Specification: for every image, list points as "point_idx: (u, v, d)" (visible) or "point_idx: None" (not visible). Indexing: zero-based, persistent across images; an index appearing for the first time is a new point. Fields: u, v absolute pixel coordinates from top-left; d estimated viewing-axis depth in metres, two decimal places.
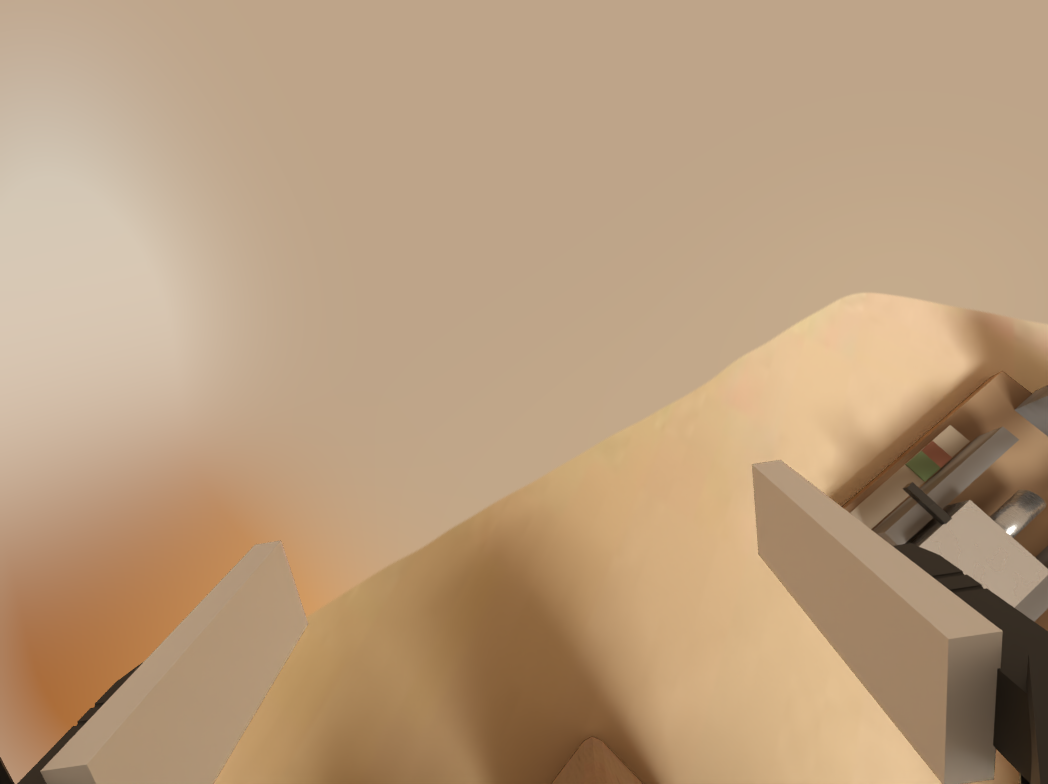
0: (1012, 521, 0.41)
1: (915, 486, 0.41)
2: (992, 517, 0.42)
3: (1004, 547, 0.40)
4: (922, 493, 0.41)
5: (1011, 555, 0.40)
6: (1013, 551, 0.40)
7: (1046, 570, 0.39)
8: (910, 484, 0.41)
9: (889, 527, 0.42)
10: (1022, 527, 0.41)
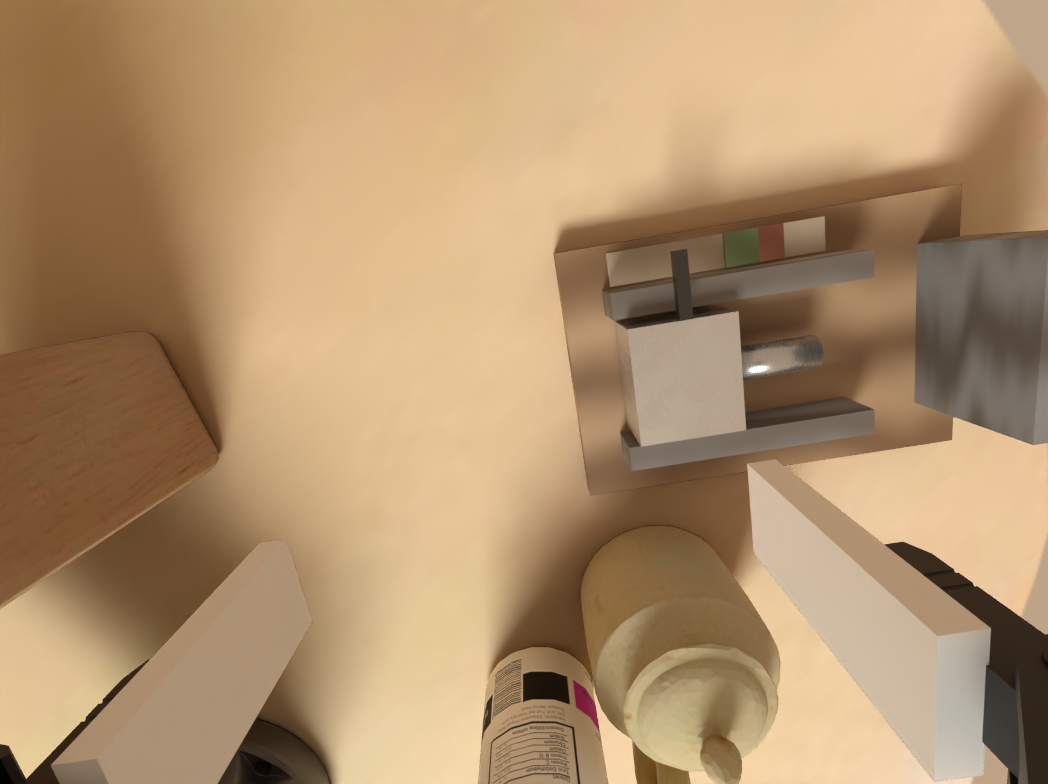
0: (765, 361, 0.29)
1: (685, 256, 0.26)
2: (751, 346, 0.30)
3: (722, 381, 0.29)
4: (685, 270, 0.27)
5: (722, 393, 0.29)
6: (728, 390, 0.29)
7: (742, 426, 0.29)
8: (681, 250, 0.26)
9: (621, 291, 0.29)
10: (770, 373, 0.30)
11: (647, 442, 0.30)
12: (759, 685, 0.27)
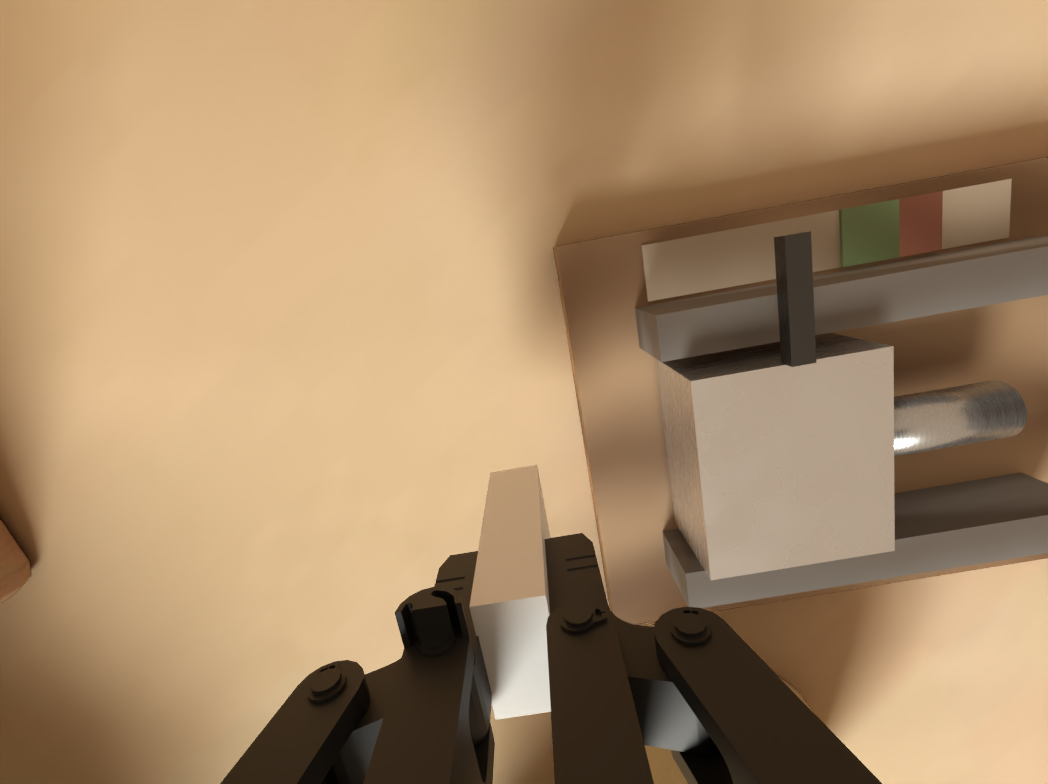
0: (924, 430, 0.17)
1: (806, 246, 0.14)
2: (895, 402, 0.17)
3: (857, 470, 0.16)
4: (806, 271, 0.14)
5: (856, 489, 0.16)
6: (867, 485, 0.16)
7: (889, 544, 0.17)
8: (800, 235, 0.14)
9: (676, 311, 0.16)
10: (929, 449, 0.17)
11: (721, 573, 0.17)
12: None
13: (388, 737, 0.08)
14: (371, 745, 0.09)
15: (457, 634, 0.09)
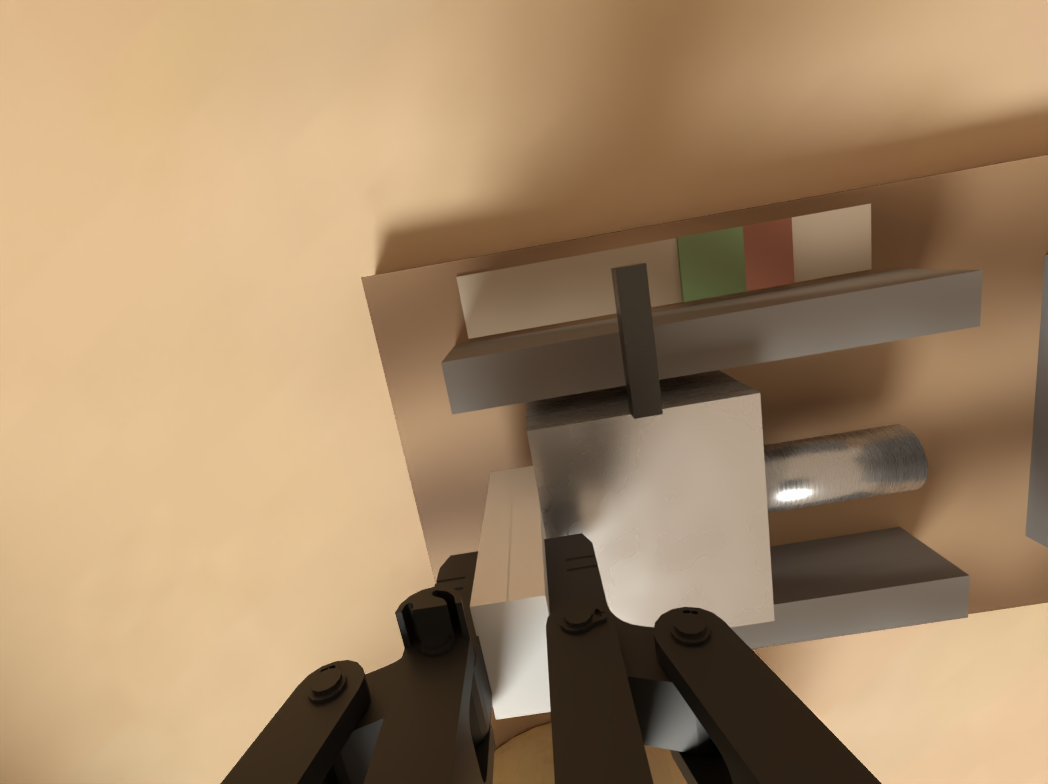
0: (811, 483, 0.15)
1: (642, 280, 0.12)
2: (782, 449, 0.15)
3: (727, 531, 0.14)
4: (644, 310, 0.12)
5: (727, 553, 0.14)
6: (739, 548, 0.14)
7: (767, 614, 0.15)
8: (634, 267, 0.12)
9: (466, 357, 0.14)
10: (819, 503, 0.15)
11: None
12: None
13: (388, 737, 0.08)
14: (371, 745, 0.09)
15: (457, 634, 0.09)
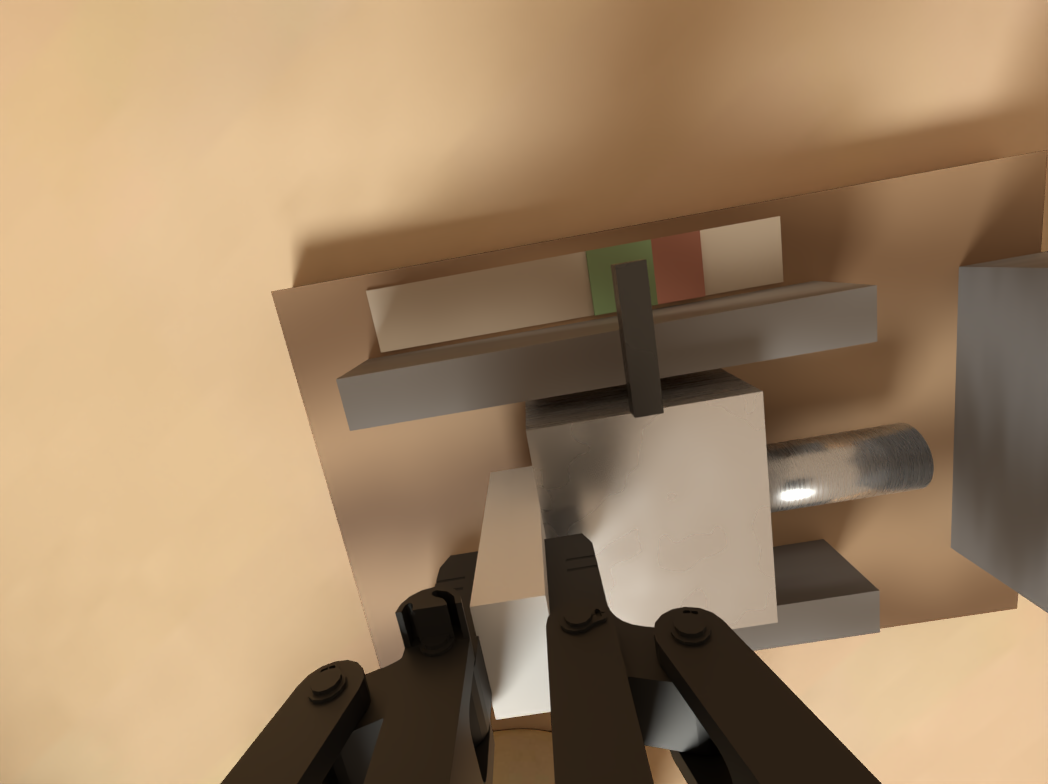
0: (814, 483, 0.15)
1: (642, 276, 0.12)
2: (785, 448, 0.15)
3: (729, 532, 0.14)
4: (644, 307, 0.12)
5: (729, 554, 0.14)
6: (741, 549, 0.14)
7: (770, 615, 0.14)
8: (634, 263, 0.11)
9: (362, 374, 0.14)
10: (823, 503, 0.15)
11: None
12: None
13: (388, 737, 0.08)
14: (371, 745, 0.09)
15: (457, 634, 0.09)
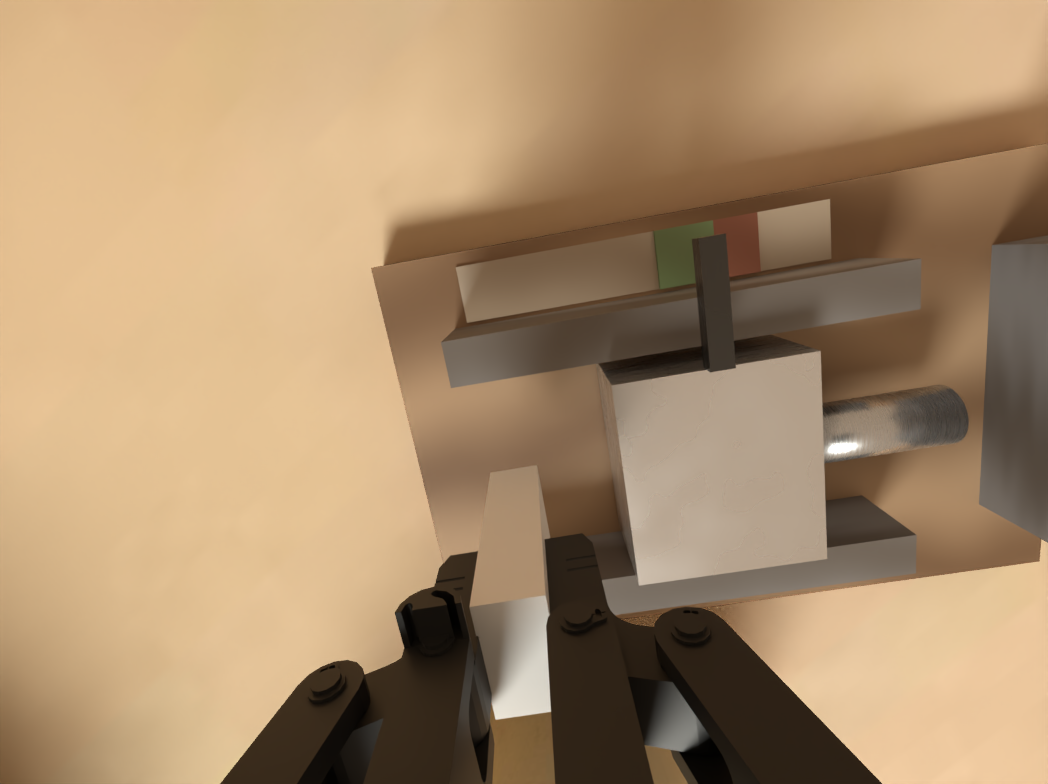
0: (861, 436, 0.16)
1: (722, 248, 0.13)
2: (834, 406, 0.17)
3: (786, 476, 0.16)
4: (722, 275, 0.14)
5: (786, 496, 0.16)
6: (797, 492, 0.16)
7: (821, 552, 0.16)
8: (715, 237, 0.13)
9: (463, 337, 0.16)
10: (868, 455, 0.17)
11: (649, 579, 0.17)
12: None
13: (388, 737, 0.08)
14: (370, 746, 0.09)
15: (457, 634, 0.09)
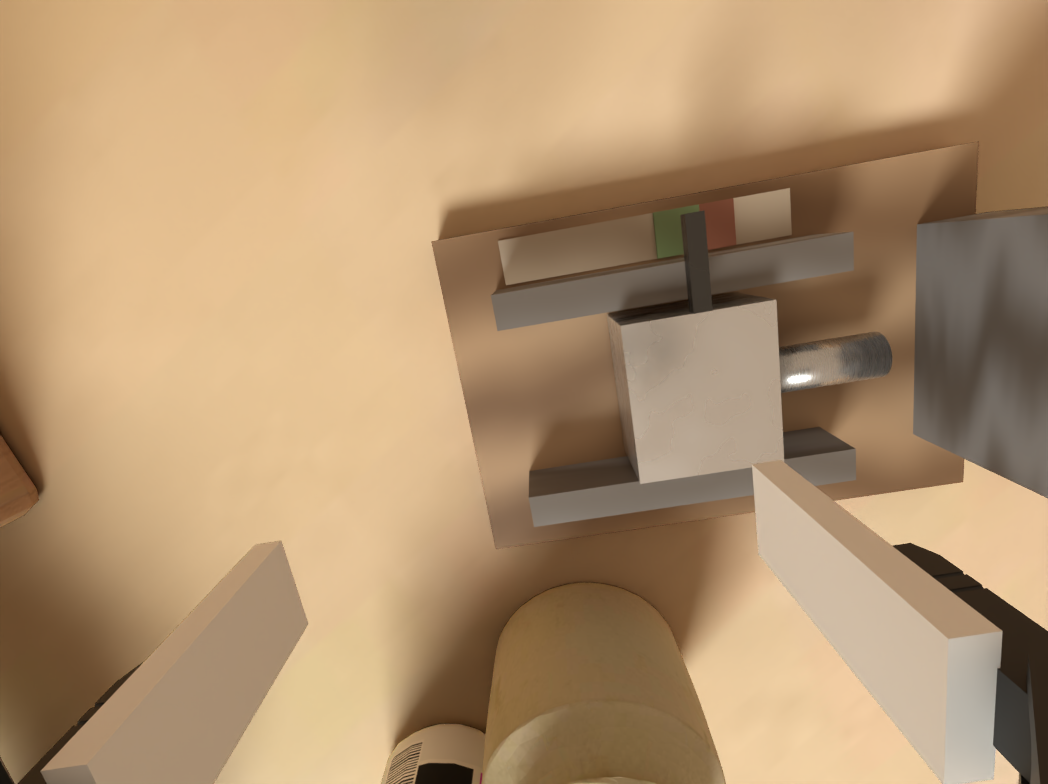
0: (810, 369, 0.22)
1: (701, 221, 0.18)
2: (791, 347, 0.22)
3: (752, 397, 0.21)
4: (702, 241, 0.19)
5: (752, 412, 0.21)
6: (760, 409, 0.21)
7: (779, 457, 0.21)
8: (696, 213, 0.18)
9: (507, 292, 0.21)
10: (817, 385, 0.22)
11: (648, 478, 0.22)
12: None
13: None
14: None
15: None
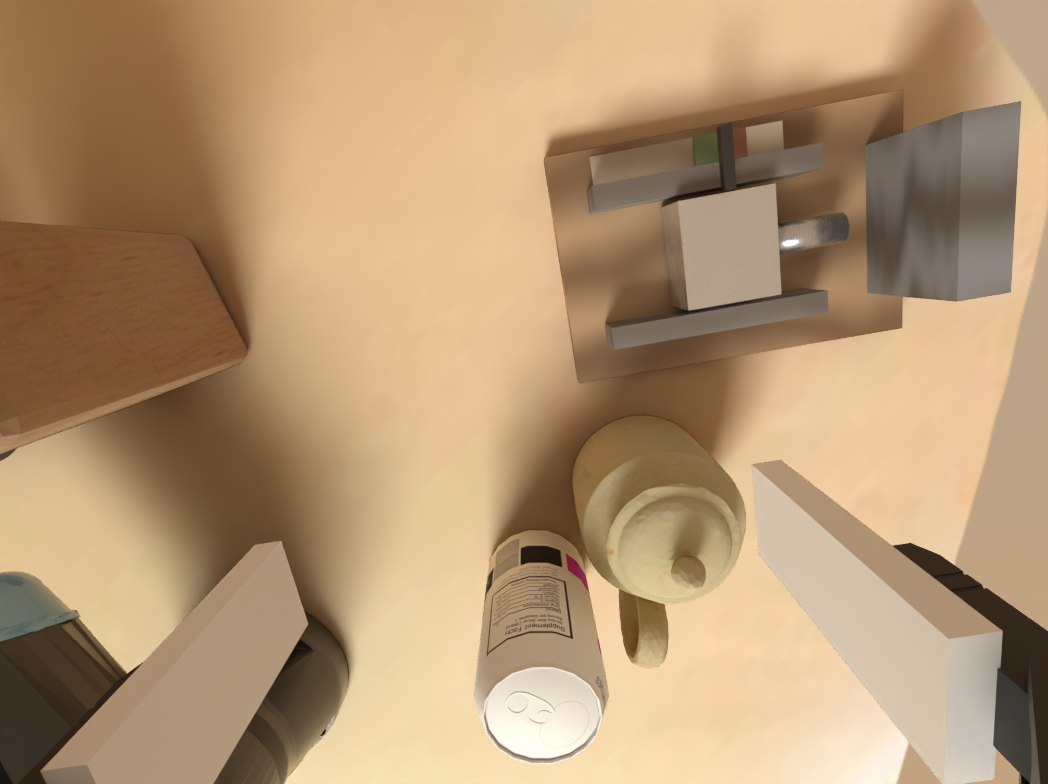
0: (797, 234, 0.33)
1: (730, 130, 0.30)
2: (784, 222, 0.34)
3: (761, 249, 0.33)
4: (730, 142, 0.30)
5: (761, 259, 0.33)
6: (766, 257, 0.33)
7: (778, 291, 0.33)
8: (727, 125, 0.30)
9: (602, 184, 0.33)
10: (801, 246, 0.34)
11: (694, 306, 0.33)
12: (724, 519, 0.31)
13: None
14: None
15: None
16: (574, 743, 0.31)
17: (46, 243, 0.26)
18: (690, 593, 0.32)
